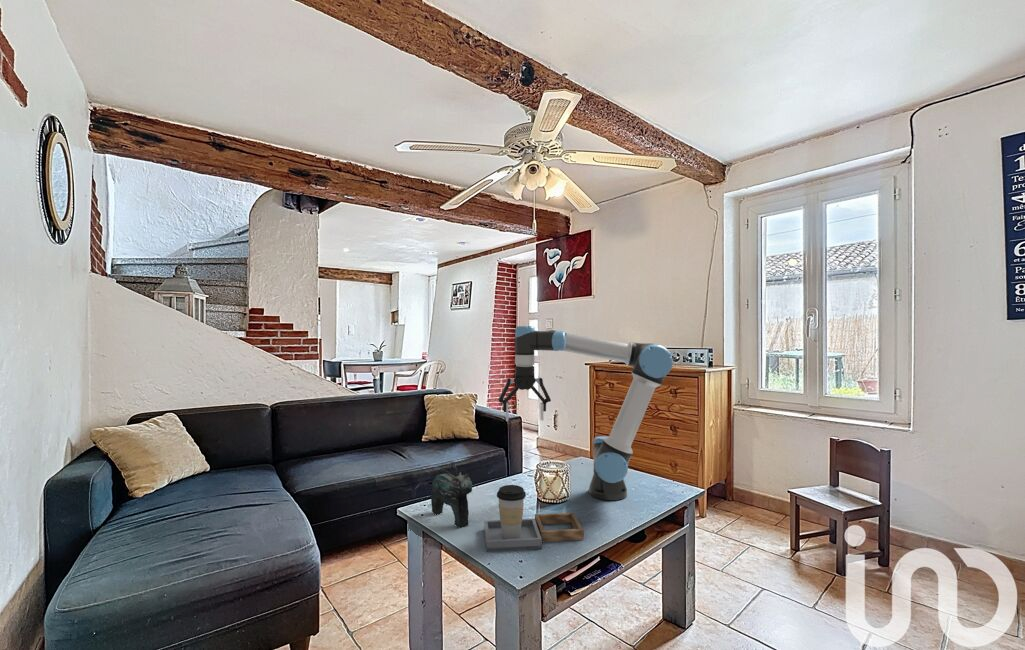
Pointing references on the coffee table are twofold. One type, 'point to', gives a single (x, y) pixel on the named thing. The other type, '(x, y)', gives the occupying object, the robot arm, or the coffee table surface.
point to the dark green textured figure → (452, 495)
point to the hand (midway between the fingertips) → (524, 420)
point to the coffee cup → (511, 510)
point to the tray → (525, 542)
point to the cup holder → (559, 534)
